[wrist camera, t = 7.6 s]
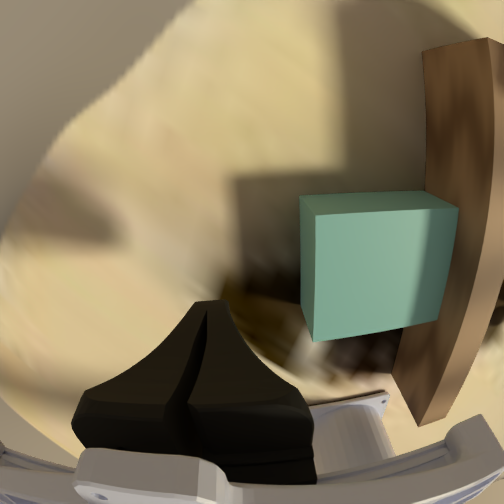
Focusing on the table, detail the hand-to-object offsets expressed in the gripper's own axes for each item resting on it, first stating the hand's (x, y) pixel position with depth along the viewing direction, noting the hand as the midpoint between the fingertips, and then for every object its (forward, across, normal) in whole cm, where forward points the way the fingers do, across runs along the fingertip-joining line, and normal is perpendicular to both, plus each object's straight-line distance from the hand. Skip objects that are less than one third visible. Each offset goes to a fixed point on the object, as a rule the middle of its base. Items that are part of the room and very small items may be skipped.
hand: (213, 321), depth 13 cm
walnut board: (+6, -14, 0) cm, 15 cm away
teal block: (+6, -9, 0) cm, 11 cm away
